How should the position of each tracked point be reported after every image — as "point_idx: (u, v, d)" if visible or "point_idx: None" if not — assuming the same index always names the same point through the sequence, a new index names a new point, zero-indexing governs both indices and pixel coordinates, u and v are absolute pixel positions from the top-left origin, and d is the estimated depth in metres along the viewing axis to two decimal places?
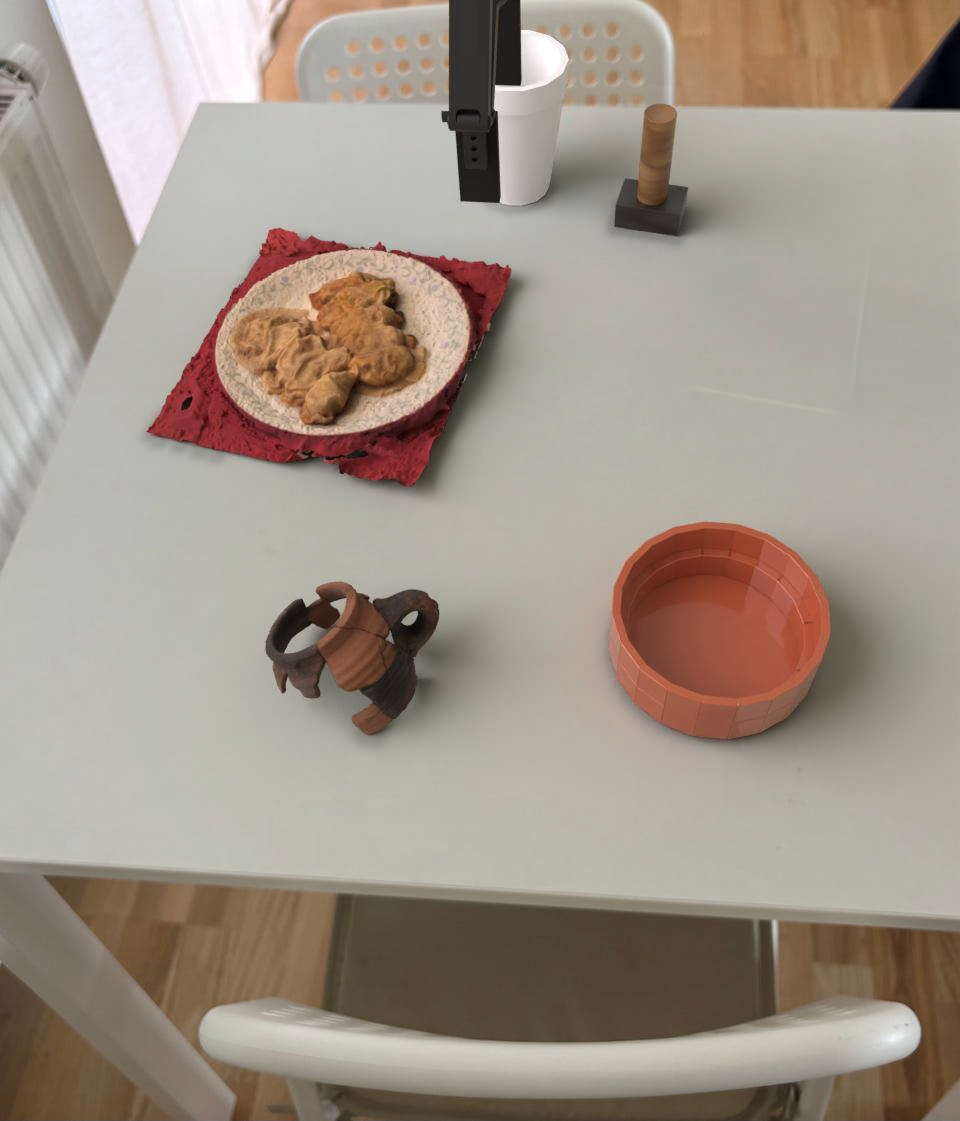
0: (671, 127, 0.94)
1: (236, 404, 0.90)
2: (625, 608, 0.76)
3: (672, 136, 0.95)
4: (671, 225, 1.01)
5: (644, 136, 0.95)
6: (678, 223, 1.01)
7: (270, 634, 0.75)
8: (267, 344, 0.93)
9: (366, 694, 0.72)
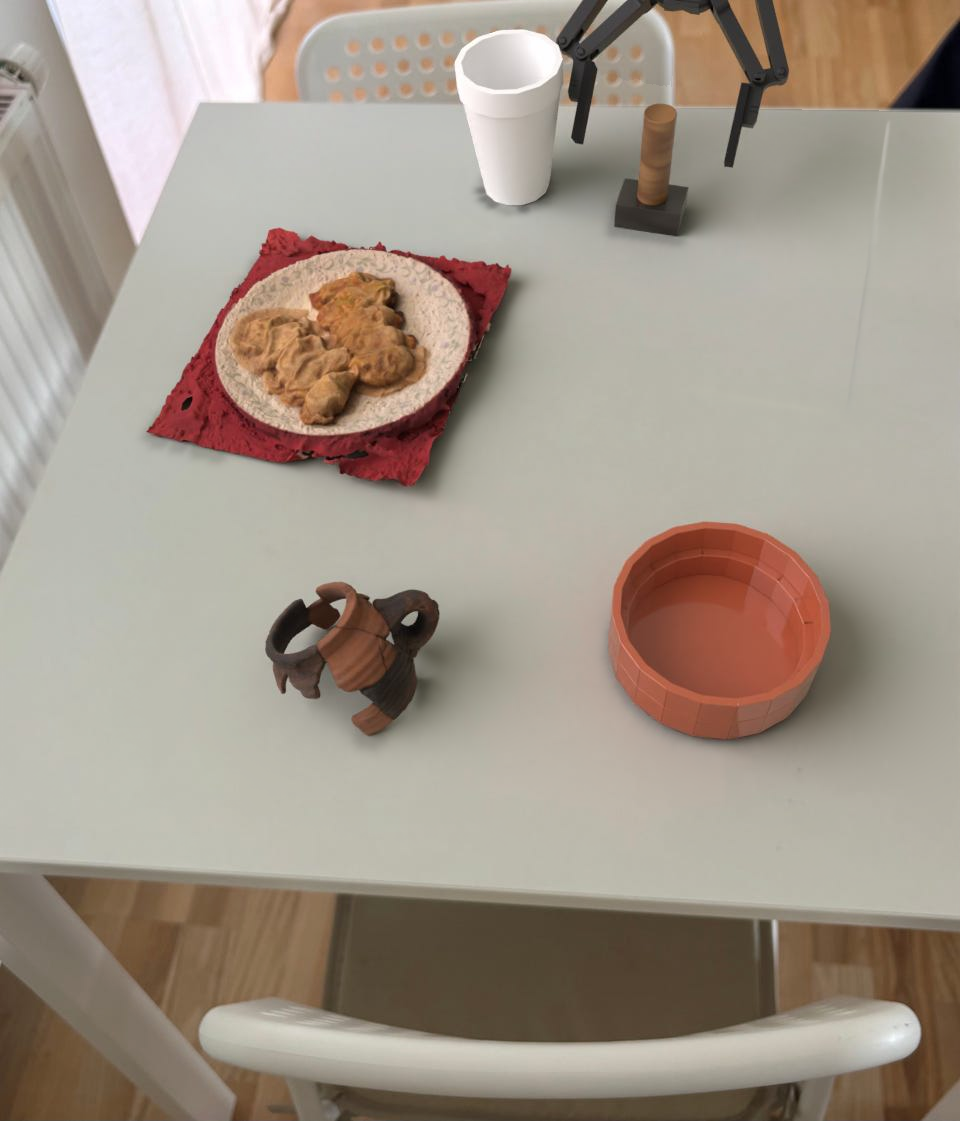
0: (671, 127, 0.94)
1: (236, 404, 0.90)
2: (625, 608, 0.76)
3: (672, 136, 0.95)
4: (671, 225, 1.01)
5: (644, 136, 0.95)
6: (678, 223, 1.01)
7: (270, 635, 0.75)
8: (267, 344, 0.93)
9: (366, 694, 0.72)
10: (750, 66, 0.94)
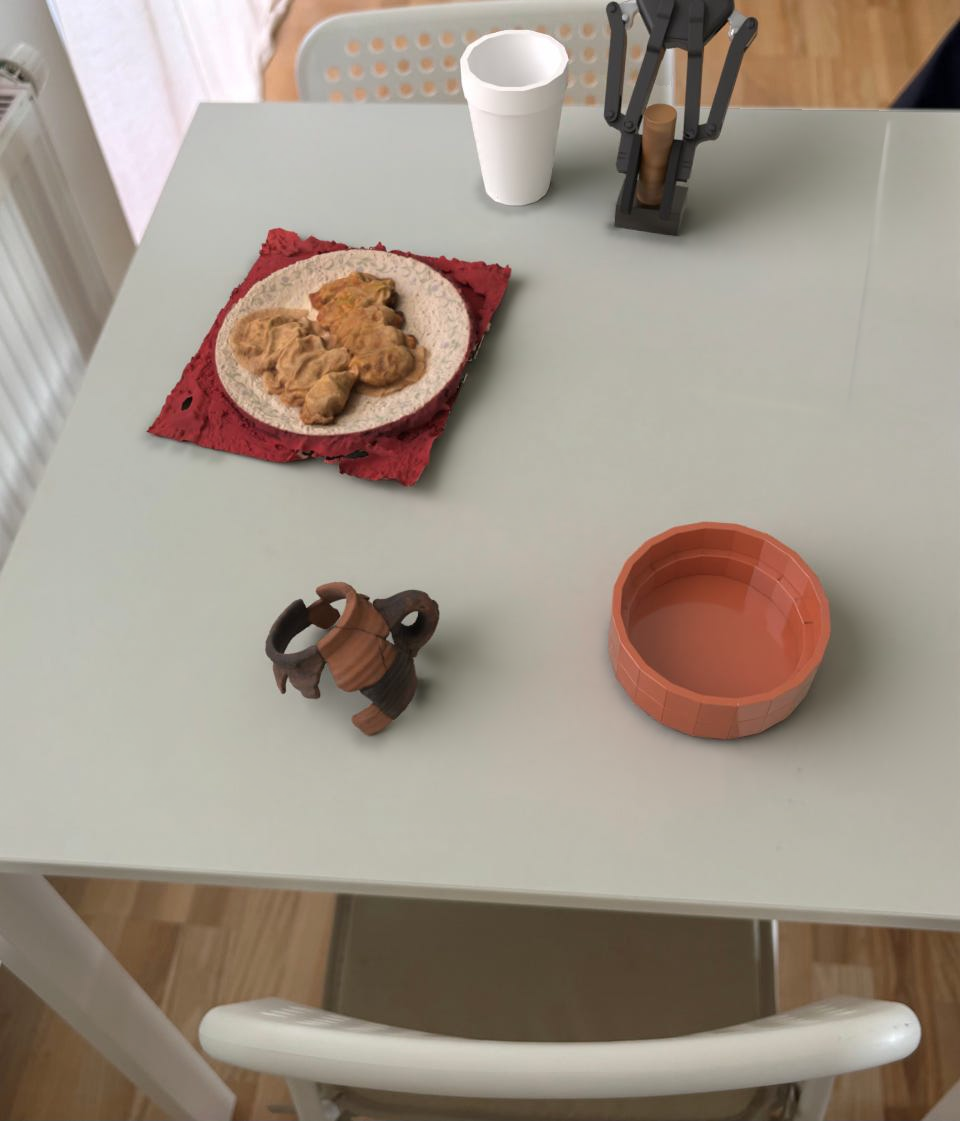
0: (671, 127, 0.94)
1: (236, 404, 0.90)
2: (625, 608, 0.76)
3: (672, 136, 0.95)
4: (671, 225, 1.01)
5: (644, 136, 0.95)
6: (678, 223, 1.01)
7: (270, 635, 0.75)
8: (267, 344, 0.93)
9: (366, 694, 0.72)
10: (688, 119, 0.95)
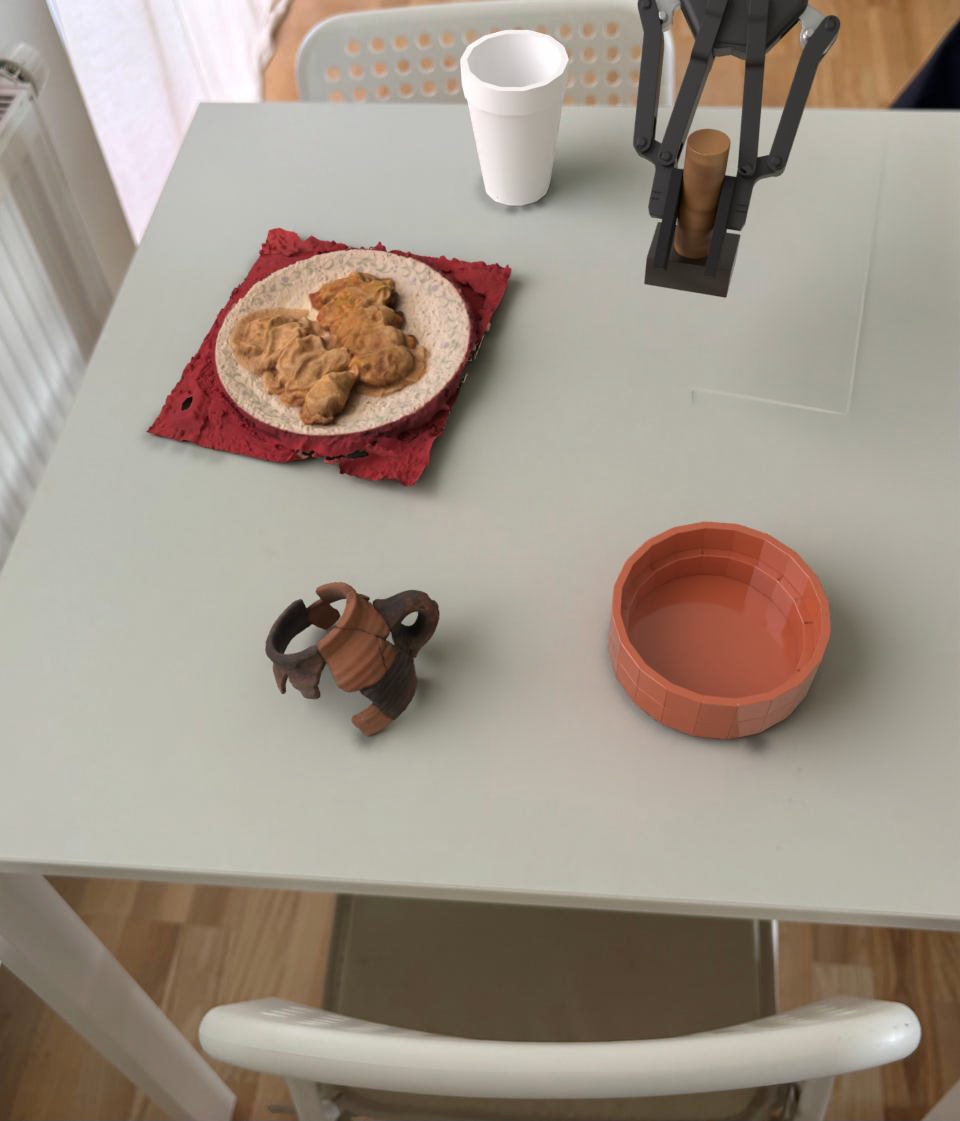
0: (723, 160, 0.71)
1: (236, 404, 0.90)
2: (625, 608, 0.76)
3: (723, 172, 0.72)
4: (718, 284, 0.78)
5: (687, 171, 0.73)
6: (727, 282, 0.78)
7: (270, 635, 0.75)
8: (267, 344, 0.93)
9: (366, 695, 0.72)
10: (745, 150, 0.72)
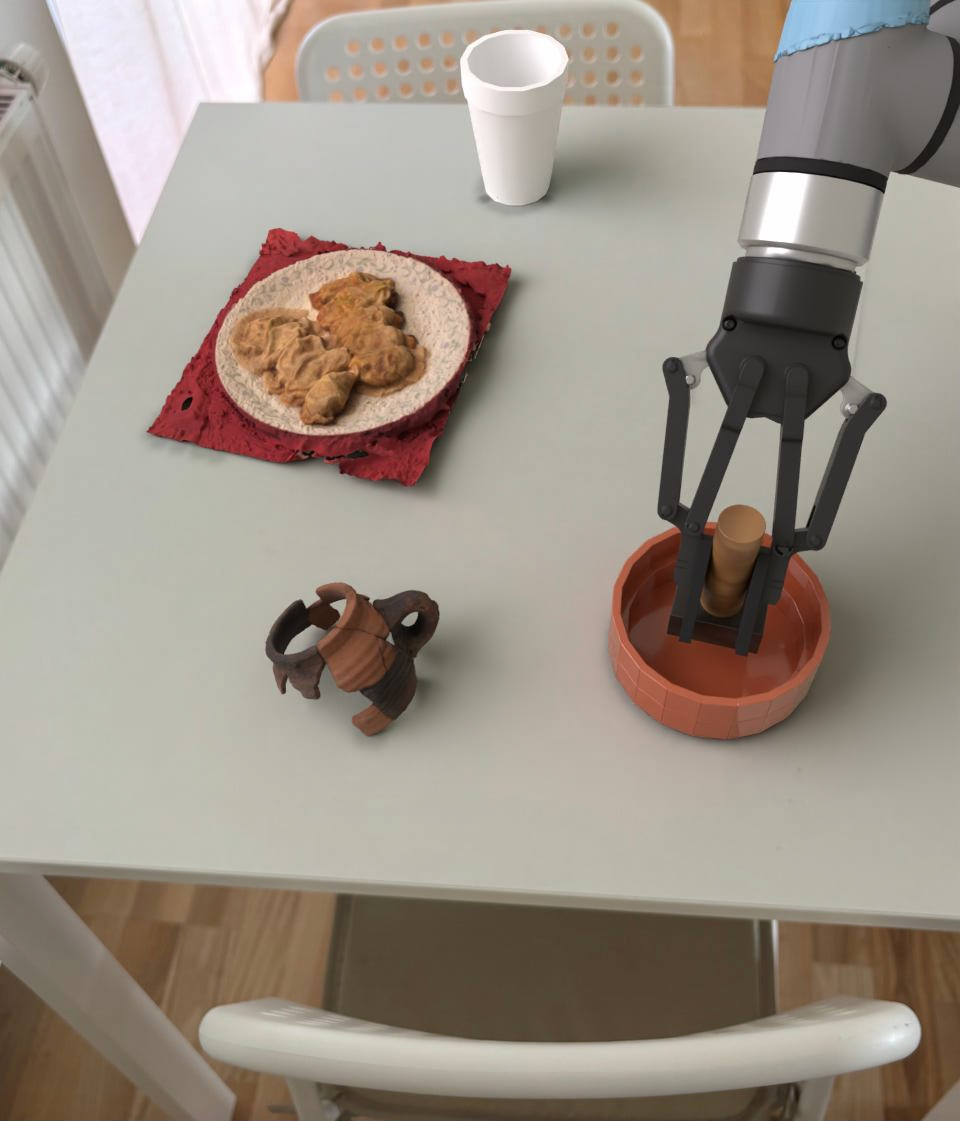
0: (757, 544, 0.65)
1: (236, 404, 0.90)
2: (625, 608, 0.76)
3: (757, 551, 0.66)
4: None
5: (717, 549, 0.66)
6: (759, 642, 0.71)
7: (270, 635, 0.75)
8: (267, 344, 0.93)
9: (366, 695, 0.72)
10: (781, 527, 0.66)
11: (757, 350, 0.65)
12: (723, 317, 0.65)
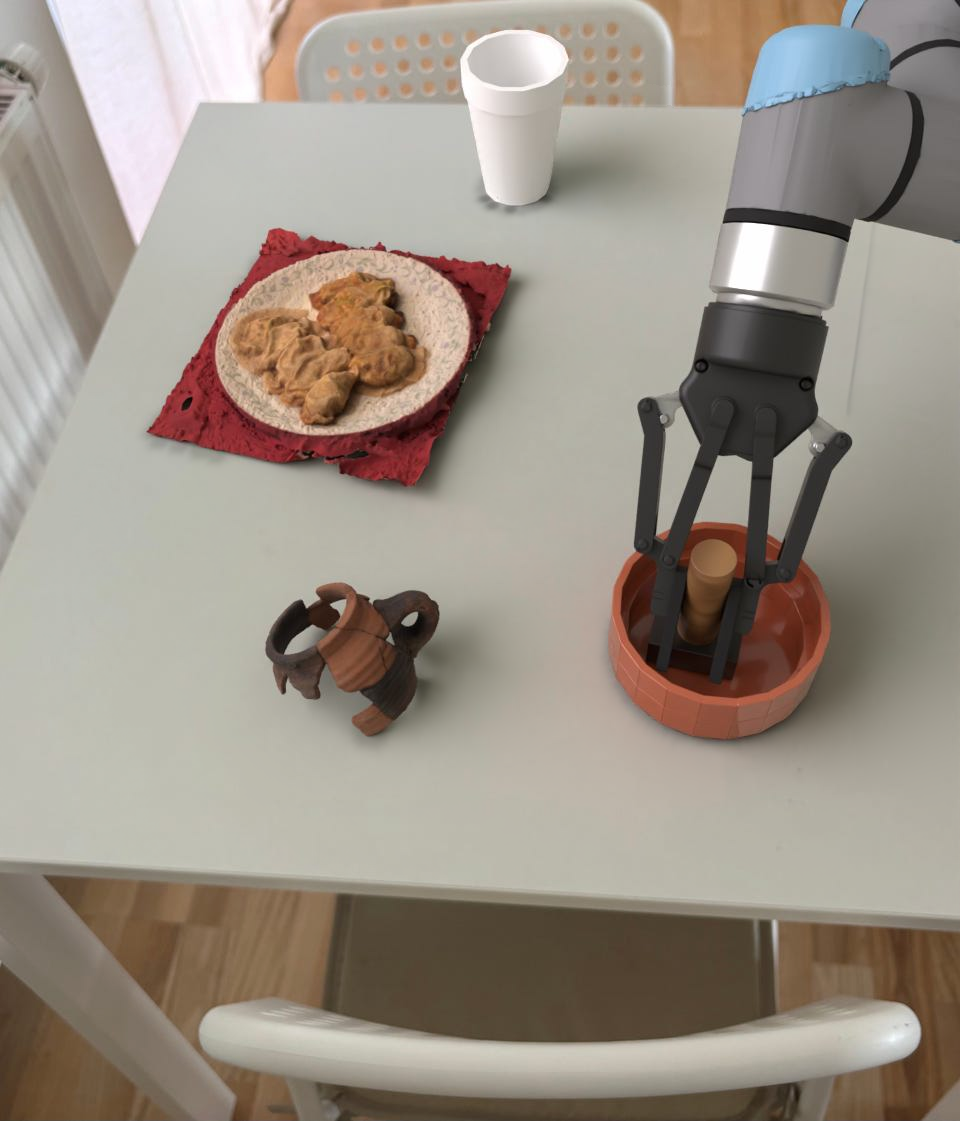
0: (729, 577, 0.68)
1: (236, 404, 0.90)
2: (625, 608, 0.76)
3: (729, 584, 0.68)
4: None
5: (691, 581, 0.69)
6: (734, 670, 0.74)
7: (270, 635, 0.75)
8: (267, 344, 0.93)
9: (366, 695, 0.72)
10: (752, 560, 0.69)
11: (728, 391, 0.67)
12: (695, 359, 0.67)
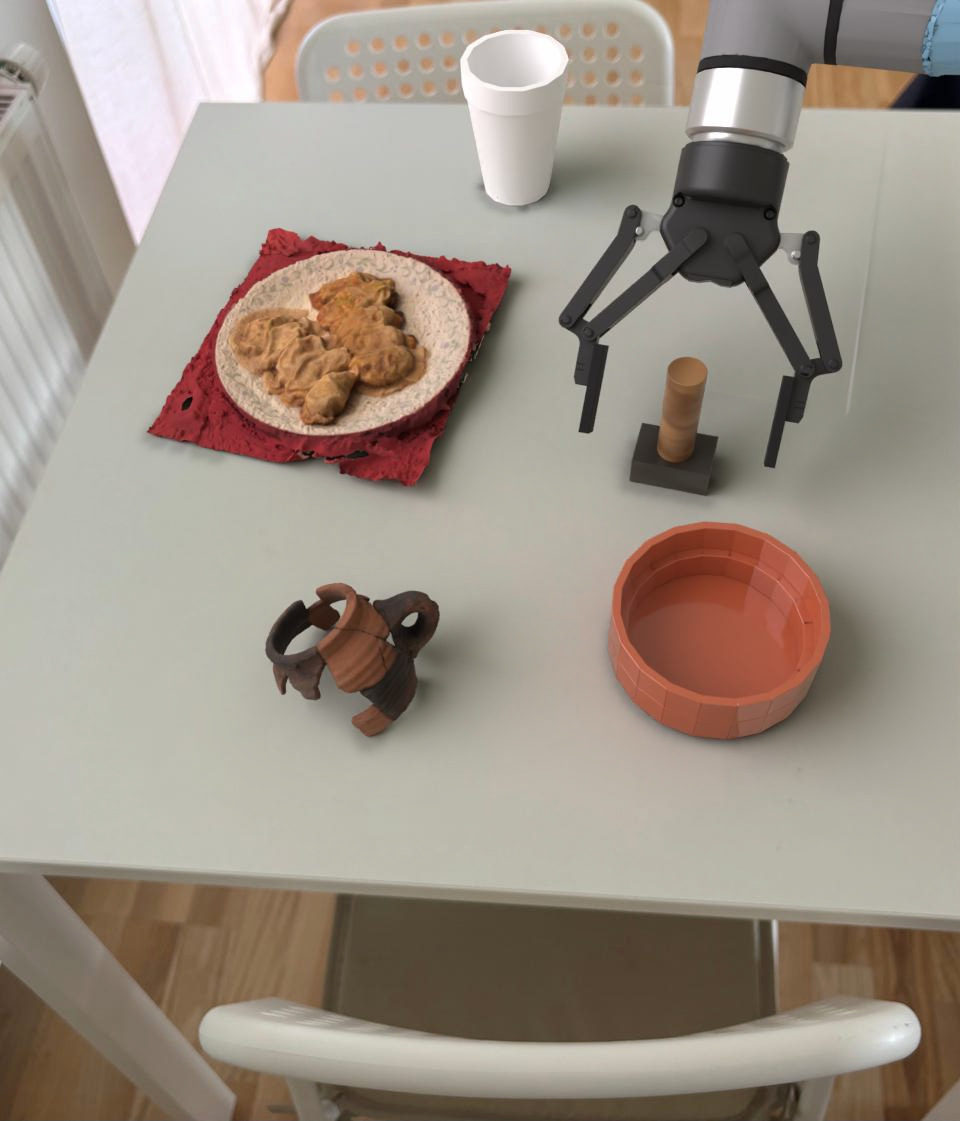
0: (700, 388, 0.77)
1: (236, 404, 0.90)
2: (625, 608, 0.76)
3: (701, 396, 0.78)
4: (698, 485, 0.84)
5: (667, 395, 0.79)
6: (707, 484, 0.84)
7: (270, 636, 0.75)
8: (267, 344, 0.93)
9: (366, 695, 0.72)
10: (795, 356, 0.77)
11: (702, 222, 0.77)
12: (673, 195, 0.77)
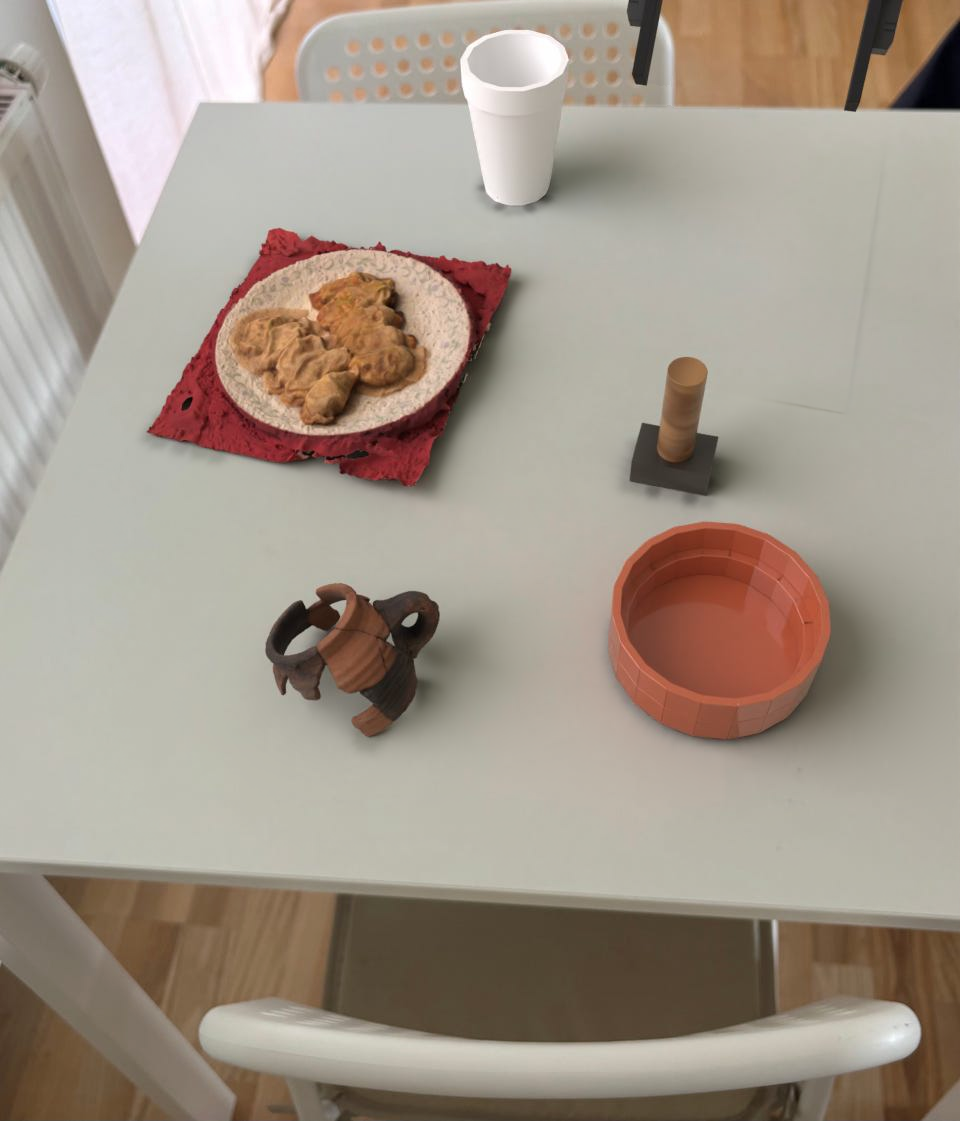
0: (700, 388, 0.77)
1: (236, 404, 0.90)
2: (625, 608, 0.76)
3: (701, 396, 0.78)
4: (698, 485, 0.84)
5: (667, 395, 0.79)
6: (707, 484, 0.84)
7: (270, 636, 0.75)
8: (267, 344, 0.93)
9: (366, 696, 0.72)
10: None
11: None
12: None
